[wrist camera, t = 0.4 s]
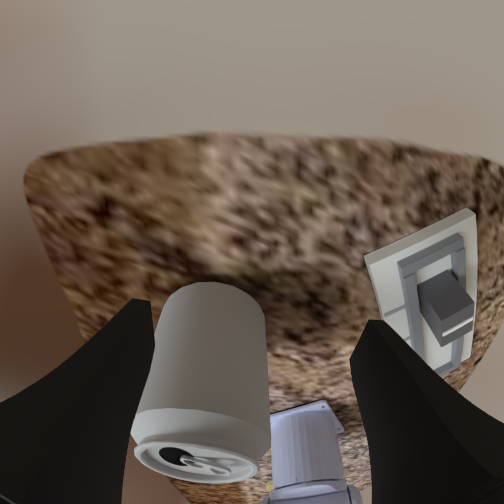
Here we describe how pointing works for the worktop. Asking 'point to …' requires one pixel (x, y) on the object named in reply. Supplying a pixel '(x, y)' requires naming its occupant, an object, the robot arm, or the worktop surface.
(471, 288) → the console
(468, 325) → the fader
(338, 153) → the worktop surface
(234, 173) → the worktop surface
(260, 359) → the can
